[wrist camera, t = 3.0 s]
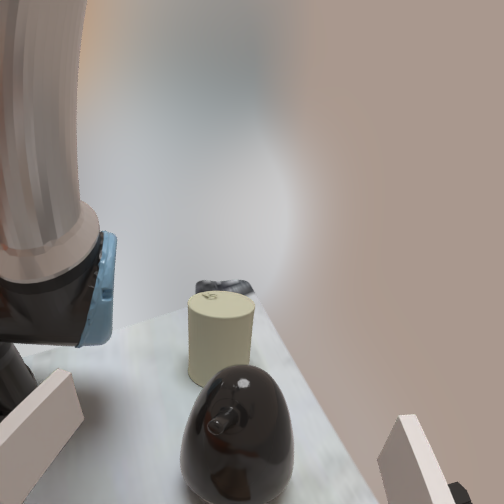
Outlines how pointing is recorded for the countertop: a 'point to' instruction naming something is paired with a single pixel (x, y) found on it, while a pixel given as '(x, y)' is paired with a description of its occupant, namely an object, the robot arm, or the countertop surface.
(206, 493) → the pump dispenser
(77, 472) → the countertop surface
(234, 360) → the can
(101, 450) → the countertop surface
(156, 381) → the countertop surface
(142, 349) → the countertop surface
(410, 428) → the robot arm
